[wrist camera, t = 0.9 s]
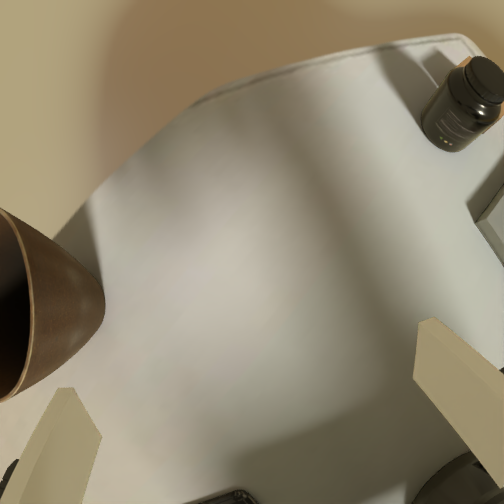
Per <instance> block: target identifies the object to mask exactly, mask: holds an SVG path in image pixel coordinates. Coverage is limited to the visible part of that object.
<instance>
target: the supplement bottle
mask: <svg viewBox="0 0 504 504" xmlns="http://www.w3.org/2000/svg"><path fill="white" fill-rule="evenodd" d="M503 102H504V72H503V71H502V70H501V69H500V68H499V66H497V65H496V64H495V63H494V62H492V61H491V60H489V59H488V58H485V57H482V56H477V57H476V56H475V57H474V58H472V59H471V60H470V61H469V63H468V64H466V66H465V67H456V68H454V69H452V70H451V71H450V72H449V73H448V74H447V76H446V77H445V79H444V80H443V82H442V83H441V84H440V86H439V87H438V89H437V90H436V92H435V93H434V94H433V96H432V97H431V99H430V100H429V101H428V103H427V104H426V106H425V107H424V109H423V111H422V114H421V123H422V127H423V130H424V132H425V134H426V135H427V137H428V138H429V139H430V141H431V142H432V143H433V144H434V145H436V146H437V147H438V148H440V149H442V150H444V151H447V152H459V151H461V150H463V149H464V148H465V147H467V146H468V145H469V144H470V143H471V142H473V141H474V140H475V139H476V138H477V137H478V136H480V135H481V134H482V133H483V132H484V131H485V130H487V129H488V128H489V127H490V126H491V125H492V124H494V123H495V122H496V121H497V120H498V118H499V116H500V113H501V104H502V103H503Z"/></svg>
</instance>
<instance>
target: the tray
mask: <svg viewBox="0 0 504 504" xmlns="http://www.w3.org/2000/svg"><path fill="white" fill-rule="evenodd" d="M475 225H476V226H477V227H478V229H479V230H480V232H481V233H482V234H483V236H484V237H485V239H486V240H487V242H488V243H489V245H490V246H491V248H492V249H493V251H494V252H495V254H496V255H497V257H498V258H499V260H500V262H501V263H502V265H503V266H504V184H503V186H502V187H501V189H500V190H499V191H498V193H497V194H496V196H495V197H494V198H493V200H492V201H491V203H490V204H489V205H488V207H487V208H486V209H485V211H484V212H483V213H482V215H481V216H480V217H479V219H478V220H477V221H476V222H475Z"/></svg>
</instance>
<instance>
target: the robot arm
mask: <svg viewBox="0 0 504 504" xmlns="http://www.w3.org/2000/svg"><path fill="white" fill-rule="evenodd" d="M413 379H414V380H415V382H416V383H417V384H418V385H419V386H420V388H421V389H422V390H423V391H424V392H425V394H426V395H427V396H428V397H429V399H430V400H431V401H432V402H433V403H434V405H435V406H436V407H437V408H438V410H439V411H440V412H441V413H442V414H443V416H444V417H445V418H446V419H447V421H448V422H449V423H450V424H451V426H452V427H453V428H454V429H455V431H456V432H457V433H458V434H459V436H460V437H461V438H462V439H463V441H464V442H465V443H466V445H467V446H468V447H469V448H470V450H471V452H468V453H466V454H464V455H462V456H460V457H458V458H456V459H455V460H453V461H452V462H450V463H449V464H447V465H446V466H445V467H443V468H442V469H441V470H440V471H439V472H437V473H436V474H435V475H434V476H433V477H432V478H431V479H430V480H429V481H428V482H427V484H426V485H425V486H424V487H423V488H422V490H421V491H420V492H419V494H418V495H417V497H416V498H415V500H414V502H413V504H504V367H503V368H502V369H500V370H498V369H497V368H496V367H495V366H493V365H492V364H491V363H490V362H489V361H488V360H486V359H485V358H484V357H483V356H482V355H481V354H479V353H478V352H477V351H476V350H475V349H473V348H472V347H471V346H470V345H469V344H467V343H466V342H465V341H464V340H463V339H461V338H460V337H459V336H458V335H456V334H455V333H454V332H453V331H451V330H450V329H449V328H448V327H447V326H445V325H444V324H443V323H442V322H440V321H439V320H438V319H436V318H435V317H432V318H430V319H427V320H424V321H421V322H419V323H418V336H417V346H416V356H415V364H414V372H413ZM101 439H102V436H101V434H100V432H99V431H98V429H97V428H96V426H95V424H94V423H93V421H92V419H91V418H90V416H89V414H88V413H87V411H86V409H85V407H84V406H83V404H82V402H81V400H80V399H79V397H78V395H77V393H76V391H75V389H74V388H58V389H57V391H56V393H55V395H54V396H53V398H52V400H51V402H50V403H49V405H48V407H47V409H46V410H45V412H44V414H43V416H42V417H41V419H40V421H39V423H38V425H37V427H36V428H35V430H34V432H33V434H32V436H31V438H30V440H29V442H28V443H27V445H26V447H25V449H24V451H23V453H22V455H21V457H20V459H16V460H15V461H14V462H13V463H12V464H11V465H10V466H9V467H8V468H7V470H6V472H5V474H4V476H3V478H2V479H3V481H2V480H1V482H0V504H82V501H83V497H84V494H85V490H86V487H87V484H88V480H89V477H90V474H91V470H92V467H93V464H94V461H95V458H96V454H97V451H98V448H99V445H100V442H101Z"/></svg>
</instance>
